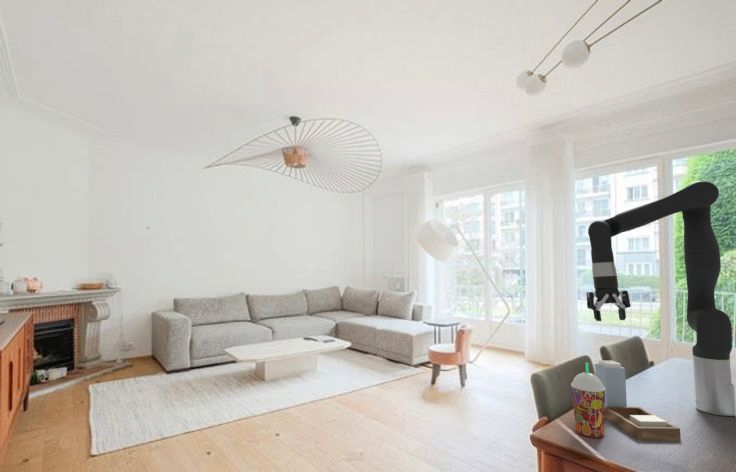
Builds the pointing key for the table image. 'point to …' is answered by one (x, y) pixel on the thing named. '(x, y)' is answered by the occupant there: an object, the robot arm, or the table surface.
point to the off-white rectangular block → (648, 421)
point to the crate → (622, 420)
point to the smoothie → (588, 404)
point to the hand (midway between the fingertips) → (610, 320)
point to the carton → (612, 382)
